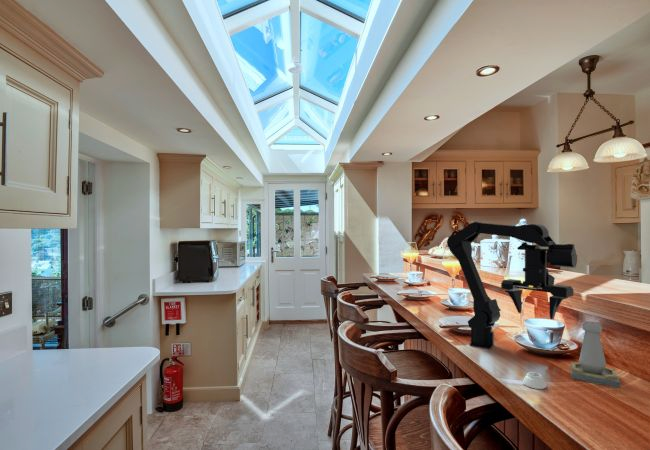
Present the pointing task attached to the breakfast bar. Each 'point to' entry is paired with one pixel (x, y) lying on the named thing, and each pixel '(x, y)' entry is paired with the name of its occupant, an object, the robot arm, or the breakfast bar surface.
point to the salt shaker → (592, 349)
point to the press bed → (595, 376)
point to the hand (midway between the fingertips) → (535, 315)
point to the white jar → (534, 380)
